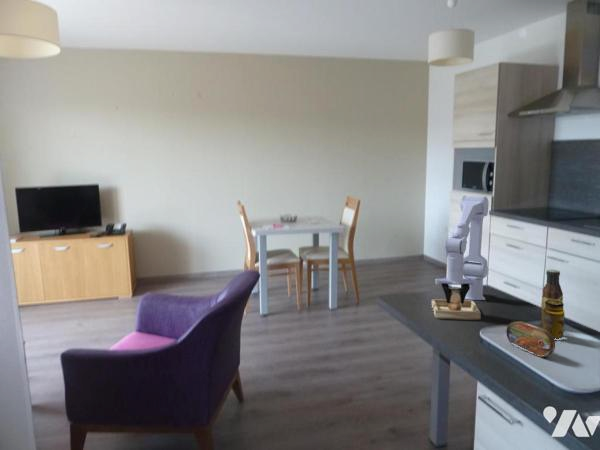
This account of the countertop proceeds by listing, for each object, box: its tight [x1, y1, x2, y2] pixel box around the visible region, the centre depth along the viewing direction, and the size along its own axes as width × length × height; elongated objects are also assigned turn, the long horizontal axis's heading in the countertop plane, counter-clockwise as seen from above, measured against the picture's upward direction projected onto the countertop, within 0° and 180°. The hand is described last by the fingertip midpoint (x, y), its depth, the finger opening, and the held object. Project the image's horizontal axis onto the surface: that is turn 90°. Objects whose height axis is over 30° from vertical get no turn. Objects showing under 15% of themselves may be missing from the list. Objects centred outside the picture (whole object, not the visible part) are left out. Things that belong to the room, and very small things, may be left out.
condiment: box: [541, 300, 565, 339], centre depth 140 cm, size 7×8×12 cm
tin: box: [506, 320, 556, 358], centre depth 131 cm, size 15×3×8 cm, turn 25°
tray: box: [430, 298, 482, 321], centre depth 165 cm, size 14×16×3 cm
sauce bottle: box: [541, 269, 564, 325], centre depth 149 cm, size 6×6×20 cm
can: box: [448, 286, 462, 311], centre depth 165 cm, size 5×5×8 cm
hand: (454, 302), depth 165 cm, fingers closed on can, 5 cm apart
